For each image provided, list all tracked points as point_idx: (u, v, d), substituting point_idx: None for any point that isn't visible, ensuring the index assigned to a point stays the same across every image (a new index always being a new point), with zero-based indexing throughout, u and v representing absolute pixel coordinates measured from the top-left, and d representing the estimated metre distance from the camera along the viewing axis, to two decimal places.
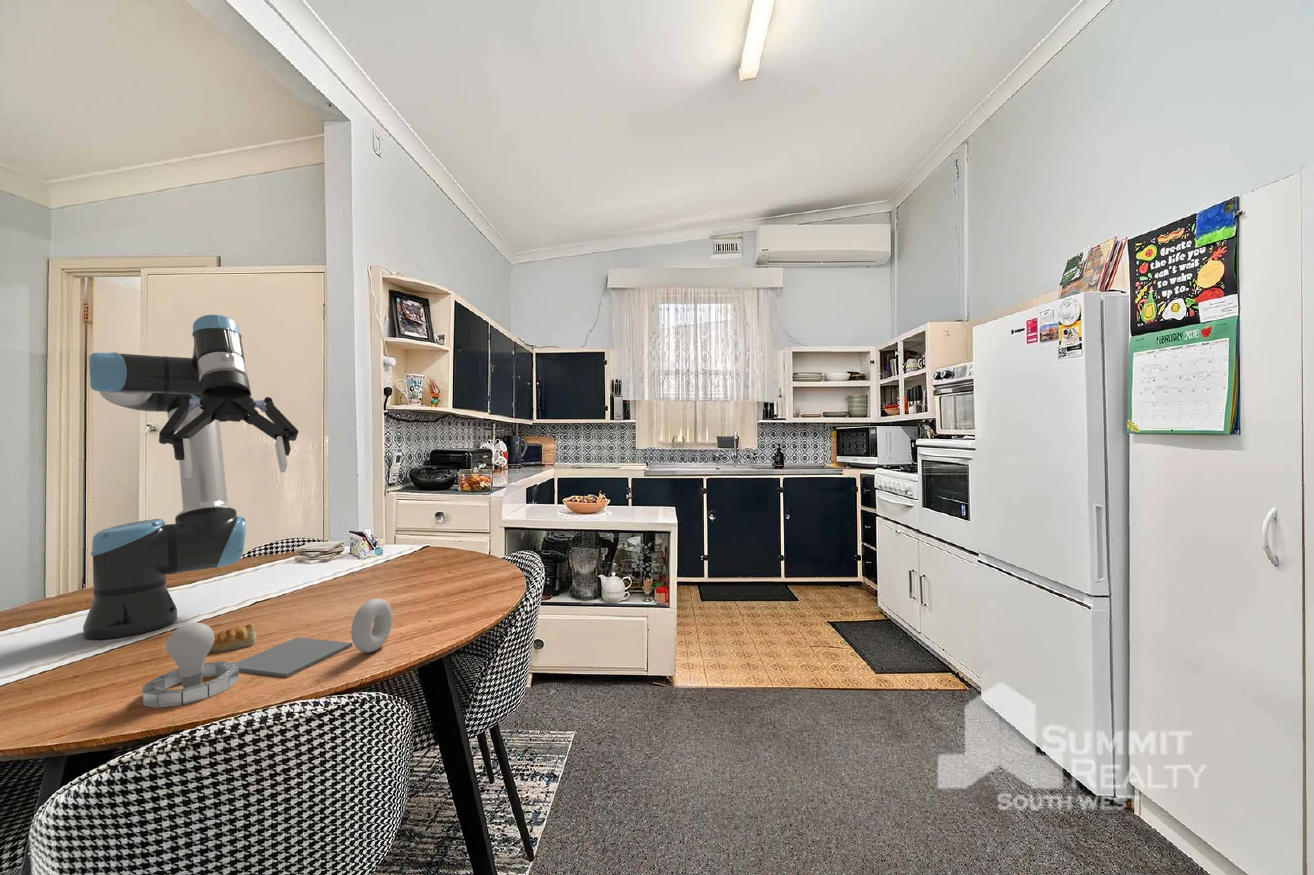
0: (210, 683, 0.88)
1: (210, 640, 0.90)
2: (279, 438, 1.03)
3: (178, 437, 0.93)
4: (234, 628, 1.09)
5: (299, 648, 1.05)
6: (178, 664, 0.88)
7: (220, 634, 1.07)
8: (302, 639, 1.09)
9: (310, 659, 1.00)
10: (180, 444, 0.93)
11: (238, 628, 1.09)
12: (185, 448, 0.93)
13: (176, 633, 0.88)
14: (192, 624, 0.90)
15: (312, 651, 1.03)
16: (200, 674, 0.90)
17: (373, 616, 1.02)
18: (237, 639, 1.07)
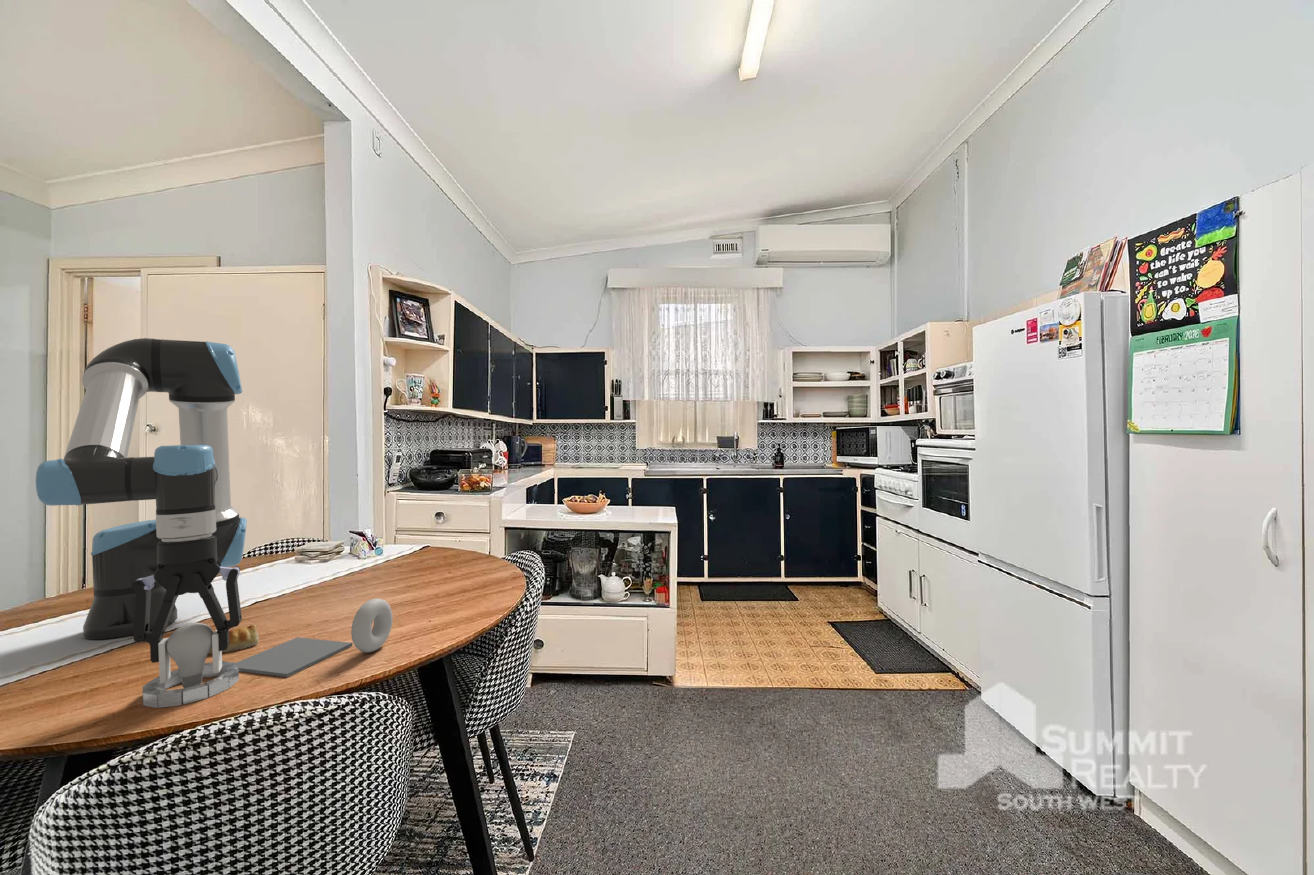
0: (210, 683, 0.88)
1: (210, 640, 0.90)
2: (214, 637, 0.90)
3: (155, 642, 0.87)
4: (236, 629, 1.08)
5: (299, 648, 1.05)
6: (178, 664, 0.88)
7: None
8: (302, 639, 1.09)
9: (310, 659, 1.00)
10: (156, 647, 0.87)
11: (240, 629, 1.08)
12: (160, 656, 0.87)
13: (176, 633, 0.88)
14: (192, 624, 0.90)
15: (312, 651, 1.03)
16: (200, 674, 0.90)
17: (373, 616, 1.02)
18: (240, 640, 1.07)
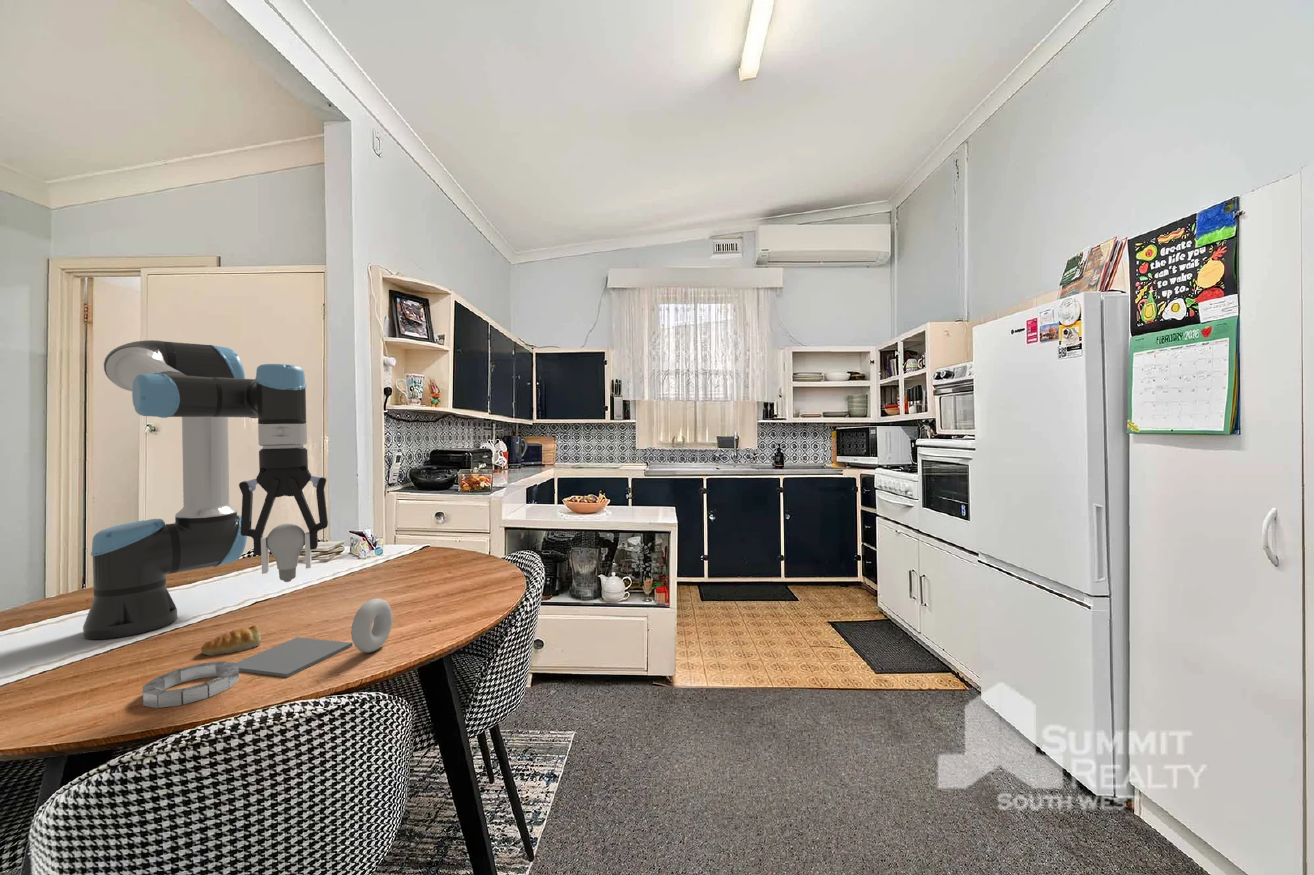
0: (210, 683, 0.88)
1: (303, 538, 1.02)
2: (306, 536, 1.02)
3: (257, 537, 0.98)
4: (238, 630, 1.08)
5: (299, 648, 1.05)
6: (277, 558, 1.00)
7: (225, 636, 1.06)
8: (302, 639, 1.09)
9: (310, 659, 1.00)
10: (259, 542, 0.99)
11: (242, 630, 1.08)
12: (262, 550, 0.99)
13: (275, 530, 0.99)
14: (288, 524, 1.01)
15: (312, 651, 1.03)
16: (294, 569, 1.02)
17: (373, 616, 1.02)
18: (243, 640, 1.06)
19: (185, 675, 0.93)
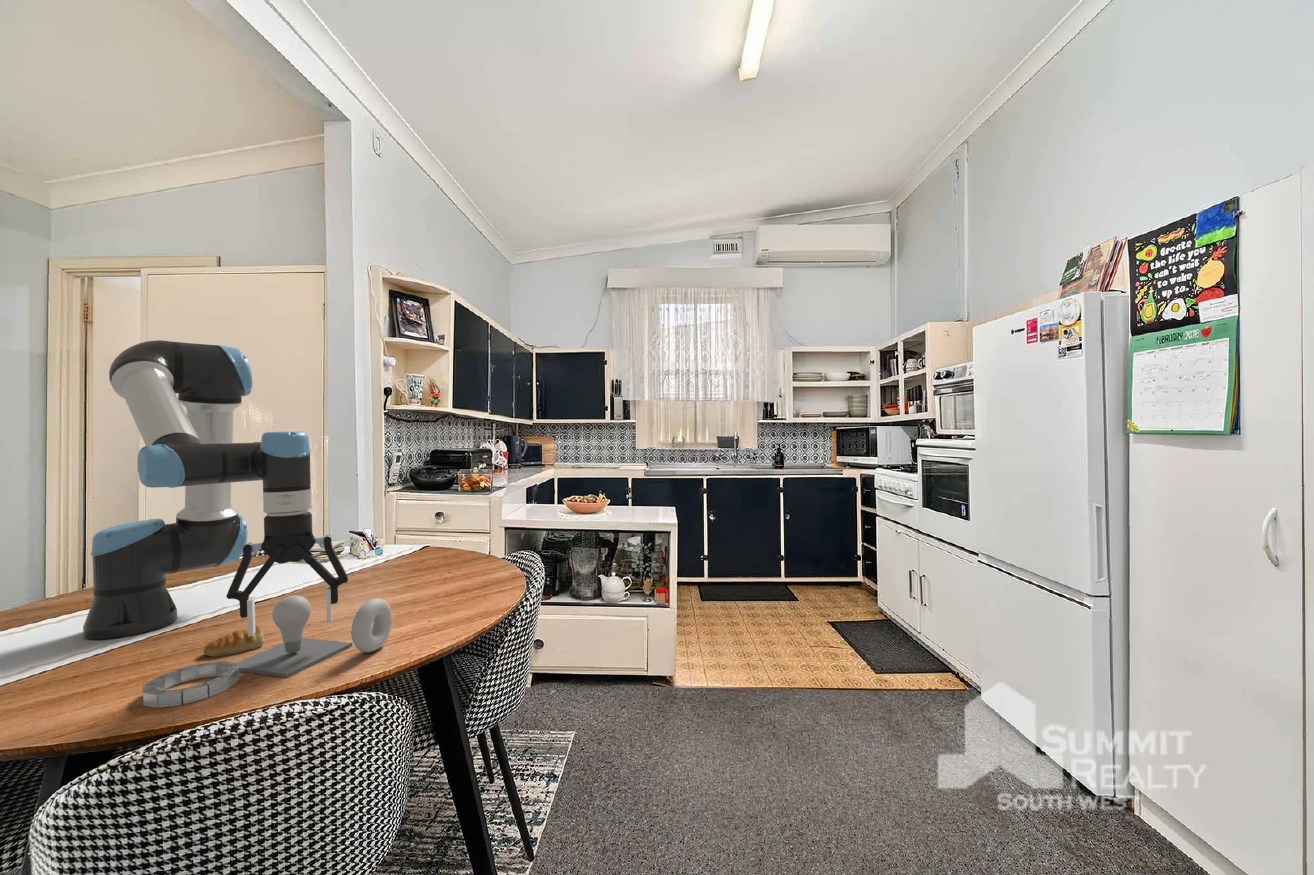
0: (210, 683, 0.88)
1: (309, 610, 1.03)
2: (327, 592, 1.04)
3: (243, 599, 0.97)
4: (241, 631, 1.07)
5: None
6: (282, 631, 1.00)
7: (227, 637, 1.05)
8: (302, 639, 1.09)
9: (310, 659, 1.00)
10: (245, 604, 0.98)
11: (245, 630, 1.07)
12: (248, 612, 0.98)
13: (281, 603, 1.00)
14: (293, 596, 1.02)
15: (312, 651, 1.03)
16: (300, 640, 1.02)
17: (373, 616, 1.02)
18: (246, 641, 1.06)
19: (185, 675, 0.93)
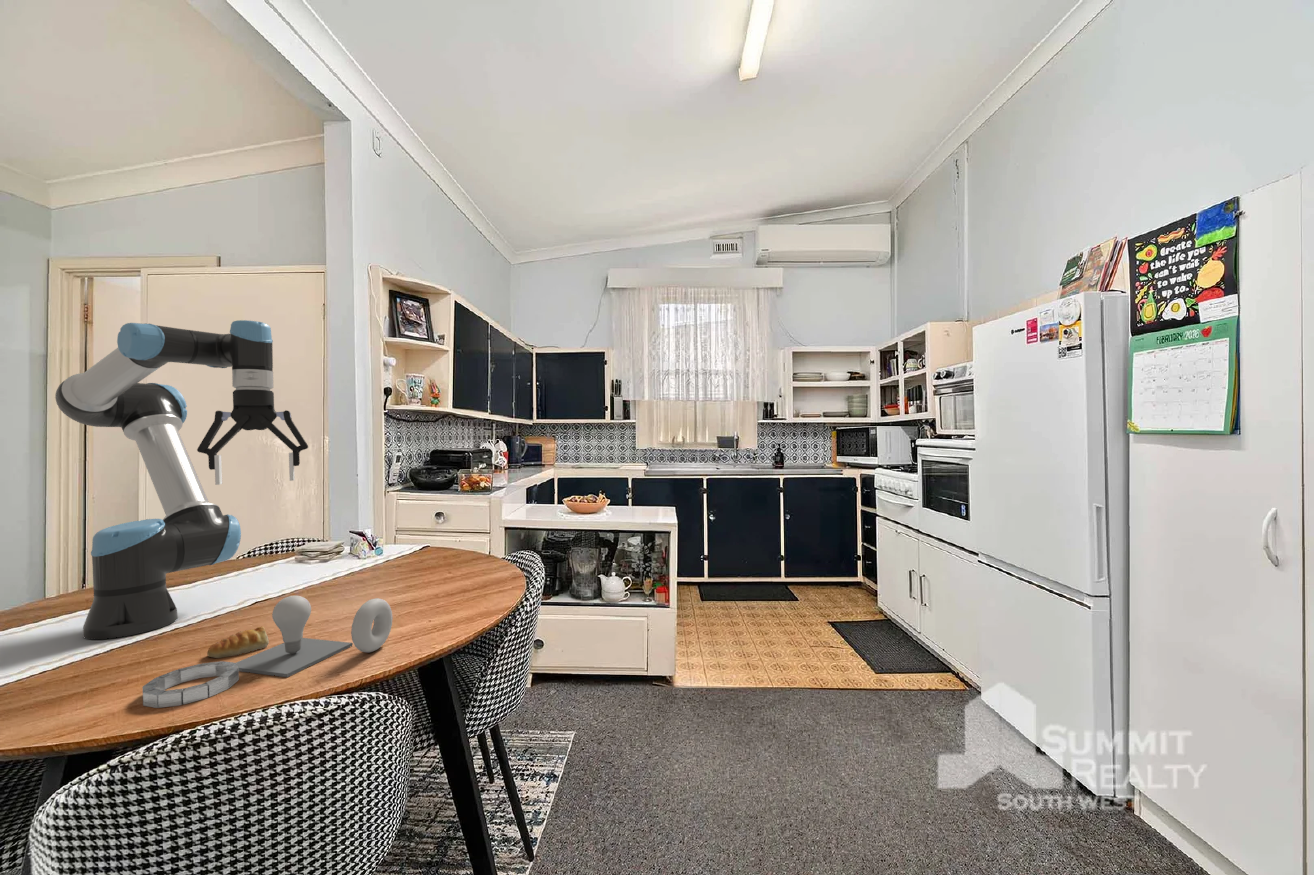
0: (210, 683, 0.88)
1: (309, 610, 1.03)
2: (290, 454, 1.26)
3: (211, 454, 1.18)
4: (244, 632, 1.07)
5: None
6: (282, 631, 1.00)
7: (232, 638, 1.05)
8: (302, 639, 1.09)
9: (310, 659, 1.00)
10: (213, 459, 1.19)
11: (249, 631, 1.07)
12: (215, 465, 1.19)
13: (281, 604, 1.00)
14: (293, 596, 1.02)
15: (312, 651, 1.03)
16: (300, 641, 1.02)
17: (373, 616, 1.02)
18: (251, 642, 1.05)
19: (185, 675, 0.93)
